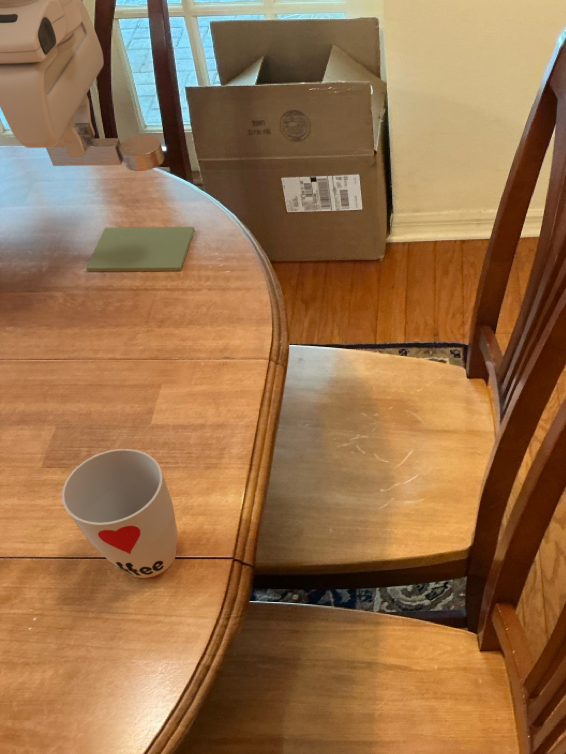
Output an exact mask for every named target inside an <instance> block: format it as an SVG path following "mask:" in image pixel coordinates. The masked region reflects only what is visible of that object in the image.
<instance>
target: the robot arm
mask: <svg viewBox="0 0 566 754" xmlns="http://www.w3.org/2000/svg"><path fill="white" fill-rule="evenodd" d="M104 64H105V63H104V54H103V49H102V46H101V43H100V41H99V37H98V34H97V33H96V30H95V27H94V24H93V22H92V19H91V17H90V14H89V11H88V9H87V7H86V5H85V4H84V1H82V0H0V110H1V112H2V114H3V116H4V118H5V121H6V122H7V125H8V127H9V129H10V131H11V133H12V135H13V136H14V138H15V139H16V141H18V142H19V143H20V144H21V145H22V146H23V147H25V148H29V149H46V148H50V147H55V146H56V145H57V143H58V141H59V140H60V139H61V140H62V141H63V142H64V145H65V147H66V150H67V152H68V154H69V155H70V156H71V157H83V156H84V154H85V152H86V150H87V145H86V144H85V140H84V139H95V135H96V132H95V129H94V126H93V123H92V117H91V108H90V107H91V106H90V99H89V97H88V92H89V91H90V90H91V87H92V86H93V84H94V82H95V81H96V79H97V77H98V76H99V74H100V72H101V70H102V69H103V67H104Z"/></svg>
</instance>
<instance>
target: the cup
mask: <svg viewBox="0 0 566 754" xmlns="http://www.w3.org/2000/svg"><path fill="white" fill-rule="evenodd" d="M61 501H62V506H63V508H64V510H65V511H66V512H67V513H68V515H69V516H70V518H71V519H72V520H73V522H74V523H75V524H76V526H77V527H78V529H79V530H80V531H81V532H82V533H83V535H84V536H85V538H86V539H87V540H88V542H89V543H90V544H91V545H92V546H93V547H94V548H95V549H96V550H97V551H98V552H99V553H100V554H101V555H102V556H103V557H104V558H106V560H107V561H108V562H110V564H113V565H114V566H115V567H116V568H118V569H120V570H122V571H123V572H125V573H126V574H128V575H129V576H131V577H134V578H137V579H149V578H153V577H156V576H159V575H160V574H162V573H164V572H165V571H166V570H168V569H169V568H170V567H171V566H172V565H173V563H174V561H175V560H176V556H177V547H178V527H177V521H176V516H175V509H174V504H173V500H172V498H171V494H170V492H169V488H168V486H167V483H166V479H165V477H164V474H163V470H162V467H161V466H160V464H159V462H158V461H157V460H156V459H155V458H154V457H153V456H151V454H149V453H146V452H144V451H141V450H139V449H132V448H116V449H111V450H106V451H102V452H99V453H97V454H94V455H93V456H91V457H89V458H87V459H86V460H84V461H82V462H81V463H80V464H79V465H77V466H76V467H75V468H74V469H73V470H72V471H71V472H70V473H69V475H68V477H67V478H66V480H65V482H64V484H63V486H62V490H61Z"/></svg>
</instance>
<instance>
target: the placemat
mask: <svg viewBox="0 0 566 754" xmlns="http://www.w3.org/2000/svg"><path fill="white" fill-rule="evenodd" d="M195 230H196V229H195V226H143V227H142V226H140V227H138V226H137V227H130V226H129V227H104V229H103V231H102V234H101V236H100V237H99V240H98V242H97V244H96V246H95V249H94V251H93V253H92V254H91V255H92V256H91V258H90V260H89V261H88V264H87V266H86V271H87V272H181V271H182V269H183V266H184V264H185V260H186V257H187V254H188V252H189V249H190V246H191V242H192V240H193V237H194V234H195Z"/></svg>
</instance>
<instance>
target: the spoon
mask: <svg viewBox="0 0 566 754" xmlns="http://www.w3.org/2000/svg"><path fill="white" fill-rule="evenodd" d="M84 140H85V144H86V145H87V150H86V152H85V154H84V156H83V157H71V156H70V155H69V154H68V152H67V150H66V147H65V145H64V142H63V141H62V140H61V139H60V140H59V141H58V143H57V145H56V146H55V147H50V148H45V149H46V151H47V154H48V156H49V159H50V162H51V164H52V166H54V167H68V166H69V167H70V166H71V167H72V166H73V167H74V166H75V167H76V166H77V167H79V166H122V164H124V167H125V168H126V169H127V170H130V171H134V172H145V171H150V170H153V169H155V168H158V167H160V166H161V165H162V164H163V163H164V161H165V154H164V151H163V147H162V143H161V140H160V139H159V138H158V137H156V136H153V135H149V134H148V135H147V134H142V135H136V136H131V137H129V138H127V139H125V140H124V141H122V142H120V138H119V137H109V138H101V137H100V138H98V137H97V138H93V139H84Z"/></svg>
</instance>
